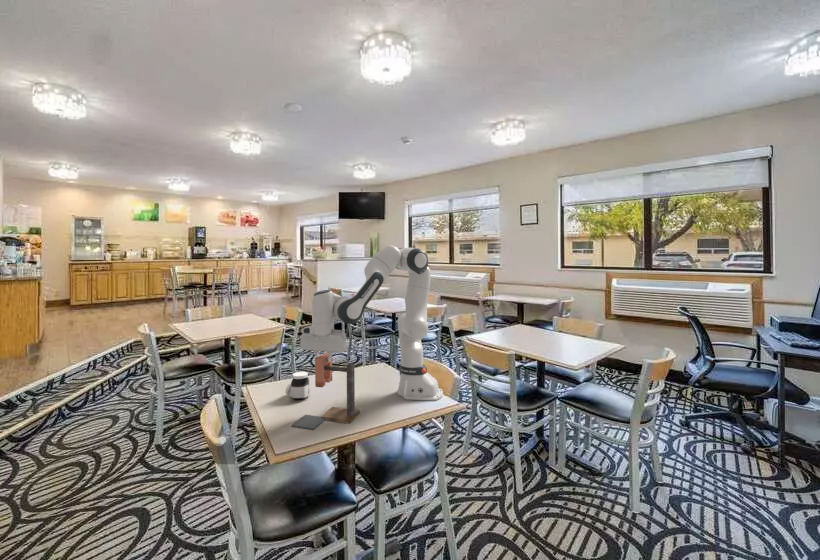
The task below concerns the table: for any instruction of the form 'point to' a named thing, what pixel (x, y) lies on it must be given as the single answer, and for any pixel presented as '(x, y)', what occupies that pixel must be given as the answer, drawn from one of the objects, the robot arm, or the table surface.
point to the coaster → (308, 422)
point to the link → (322, 370)
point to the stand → (350, 412)
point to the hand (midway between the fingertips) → (323, 361)
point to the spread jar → (299, 386)
